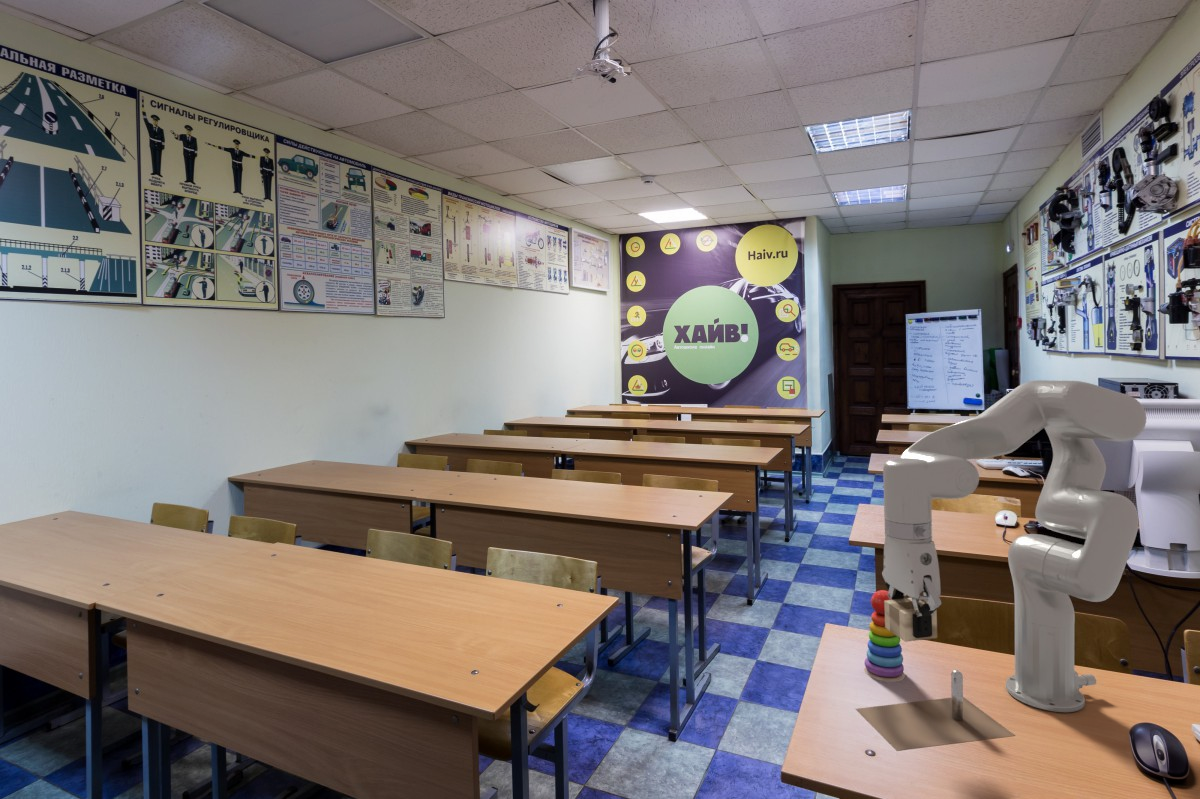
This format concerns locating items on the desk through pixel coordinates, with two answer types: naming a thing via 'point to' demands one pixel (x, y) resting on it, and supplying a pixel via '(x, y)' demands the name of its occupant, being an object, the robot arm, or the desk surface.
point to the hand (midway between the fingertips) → (910, 627)
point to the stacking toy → (883, 645)
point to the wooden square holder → (904, 619)
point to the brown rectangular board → (931, 724)
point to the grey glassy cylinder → (957, 695)
